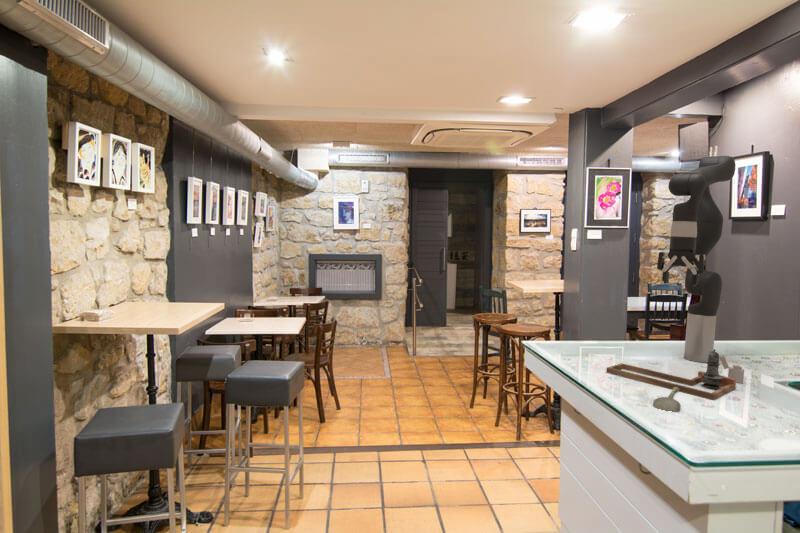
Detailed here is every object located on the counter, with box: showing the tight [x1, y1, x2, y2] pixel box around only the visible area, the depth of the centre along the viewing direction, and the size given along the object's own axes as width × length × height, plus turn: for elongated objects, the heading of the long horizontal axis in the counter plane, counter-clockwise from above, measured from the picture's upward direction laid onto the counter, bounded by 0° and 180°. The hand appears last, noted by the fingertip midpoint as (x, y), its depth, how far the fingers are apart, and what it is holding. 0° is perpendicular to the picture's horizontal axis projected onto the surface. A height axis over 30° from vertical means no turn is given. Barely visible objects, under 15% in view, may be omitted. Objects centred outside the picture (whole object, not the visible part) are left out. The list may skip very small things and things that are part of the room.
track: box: [605, 362, 737, 401], centre depth 162 cm, size 18×32×3 cm, turn 40°
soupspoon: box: [652, 387, 682, 413], centre depth 142 cm, size 22×3×7 cm
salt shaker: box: [700, 348, 724, 391], centre depth 156 cm, size 6×6×12 cm
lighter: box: [719, 354, 745, 385], centre depth 163 cm, size 7×2×8 cm, turn 56°
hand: (679, 284), depth 168 cm, fingers open, 8 cm apart
